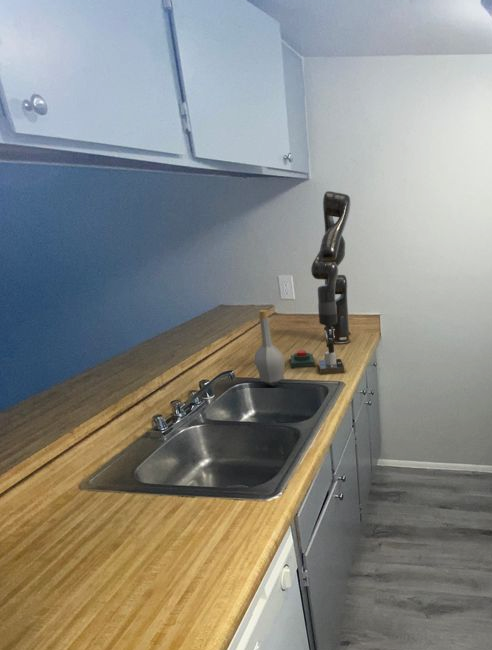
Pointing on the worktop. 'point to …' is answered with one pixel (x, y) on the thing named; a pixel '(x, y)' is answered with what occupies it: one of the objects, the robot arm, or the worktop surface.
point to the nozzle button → (301, 353)
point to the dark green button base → (302, 361)
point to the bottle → (268, 355)
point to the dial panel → (331, 367)
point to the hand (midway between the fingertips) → (330, 349)
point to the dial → (330, 358)
